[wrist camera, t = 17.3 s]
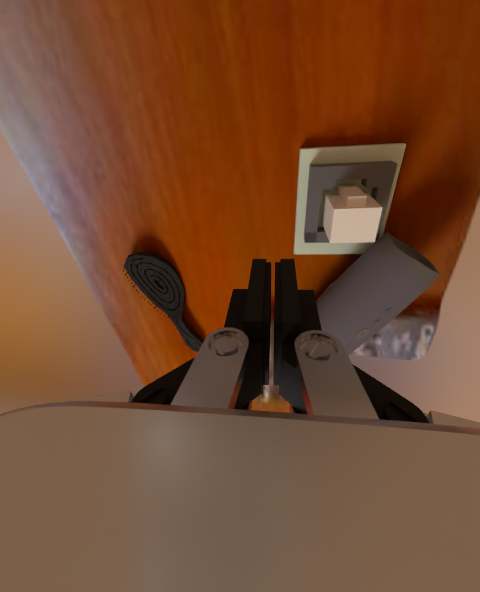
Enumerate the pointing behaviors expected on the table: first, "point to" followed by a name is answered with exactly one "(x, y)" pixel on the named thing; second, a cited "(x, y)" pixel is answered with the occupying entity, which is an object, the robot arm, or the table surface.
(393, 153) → the socket board
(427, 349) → the table surface
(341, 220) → the keyed plug
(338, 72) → the table surface
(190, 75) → the table surface
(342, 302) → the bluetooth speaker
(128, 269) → the hairbrush
